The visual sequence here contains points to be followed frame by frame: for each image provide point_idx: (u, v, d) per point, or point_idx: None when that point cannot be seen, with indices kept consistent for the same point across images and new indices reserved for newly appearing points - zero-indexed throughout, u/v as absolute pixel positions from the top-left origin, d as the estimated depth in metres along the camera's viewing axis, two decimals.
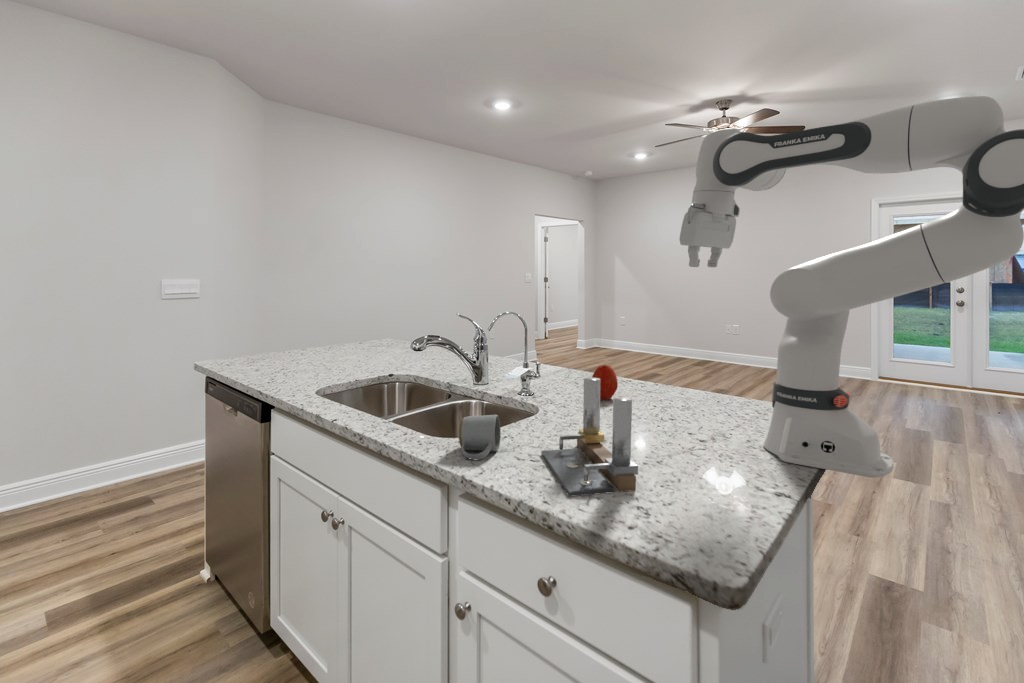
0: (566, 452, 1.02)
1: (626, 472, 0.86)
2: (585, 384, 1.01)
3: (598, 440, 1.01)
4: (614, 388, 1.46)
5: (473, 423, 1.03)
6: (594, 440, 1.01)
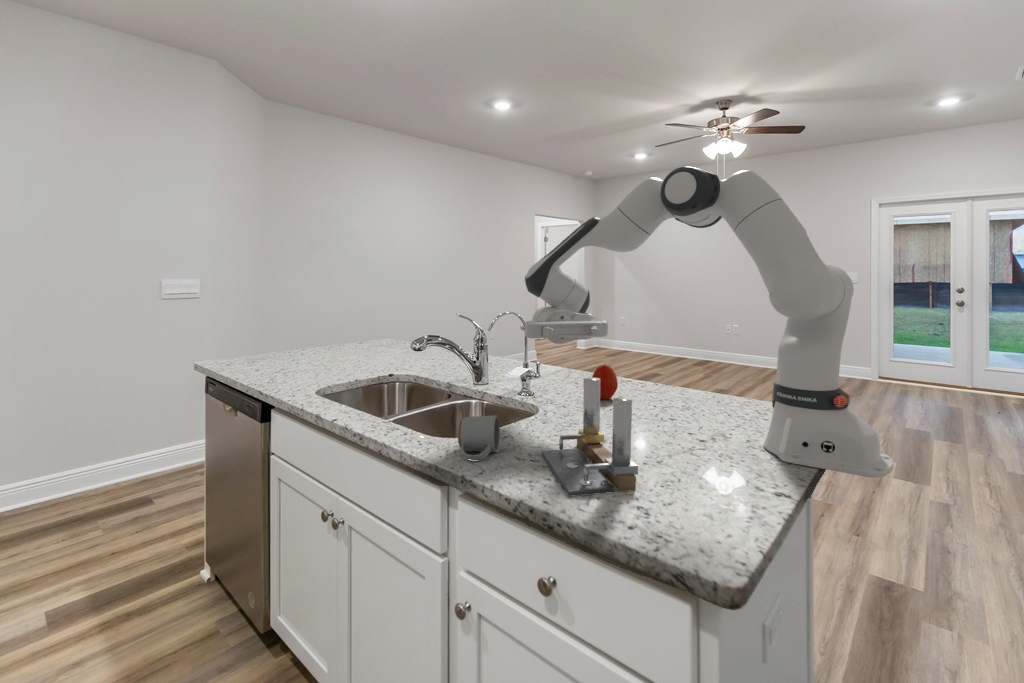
0: (566, 452, 1.02)
1: (626, 472, 0.86)
2: (585, 384, 1.01)
3: (598, 440, 1.01)
4: (614, 388, 1.46)
5: (472, 424, 1.03)
6: (594, 440, 1.01)
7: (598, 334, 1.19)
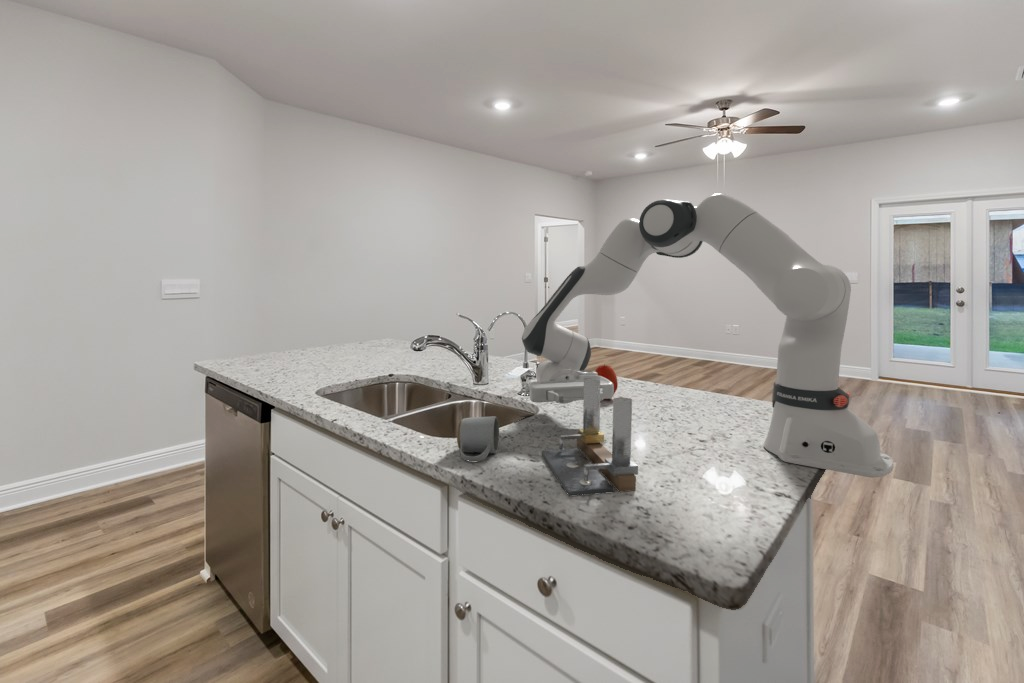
0: (566, 452, 1.02)
1: (626, 472, 0.86)
2: (585, 384, 1.01)
3: (598, 440, 1.01)
4: (614, 388, 1.46)
5: (471, 425, 1.02)
6: (594, 440, 1.01)
7: (604, 396, 1.16)
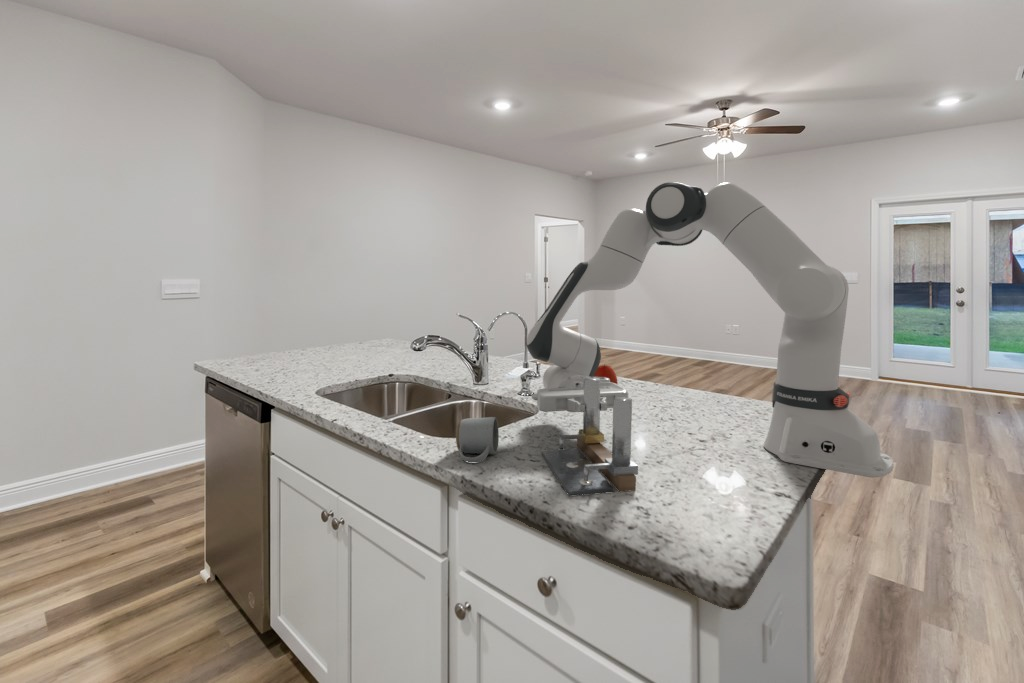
0: (566, 452, 1.02)
1: (626, 472, 0.86)
2: (585, 384, 1.01)
3: (598, 440, 1.01)
4: None
5: (470, 426, 1.02)
6: (594, 440, 1.01)
7: None
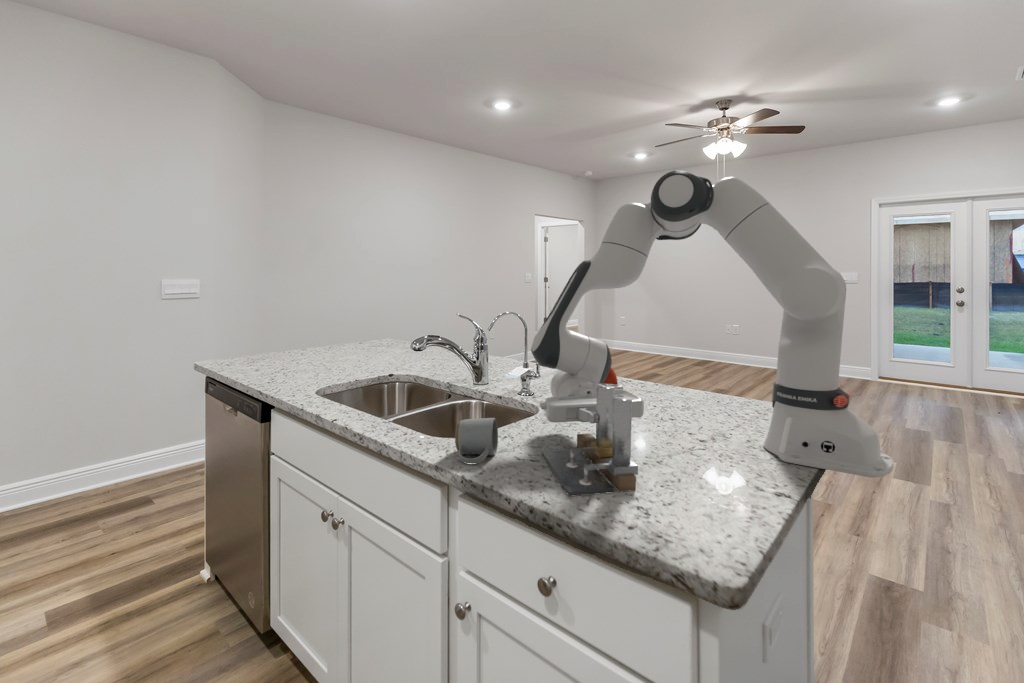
0: (566, 452, 1.02)
1: (626, 472, 0.86)
2: (598, 393, 0.93)
3: None
4: None
5: (469, 427, 1.01)
6: (608, 453, 0.94)
7: (633, 415, 1.00)
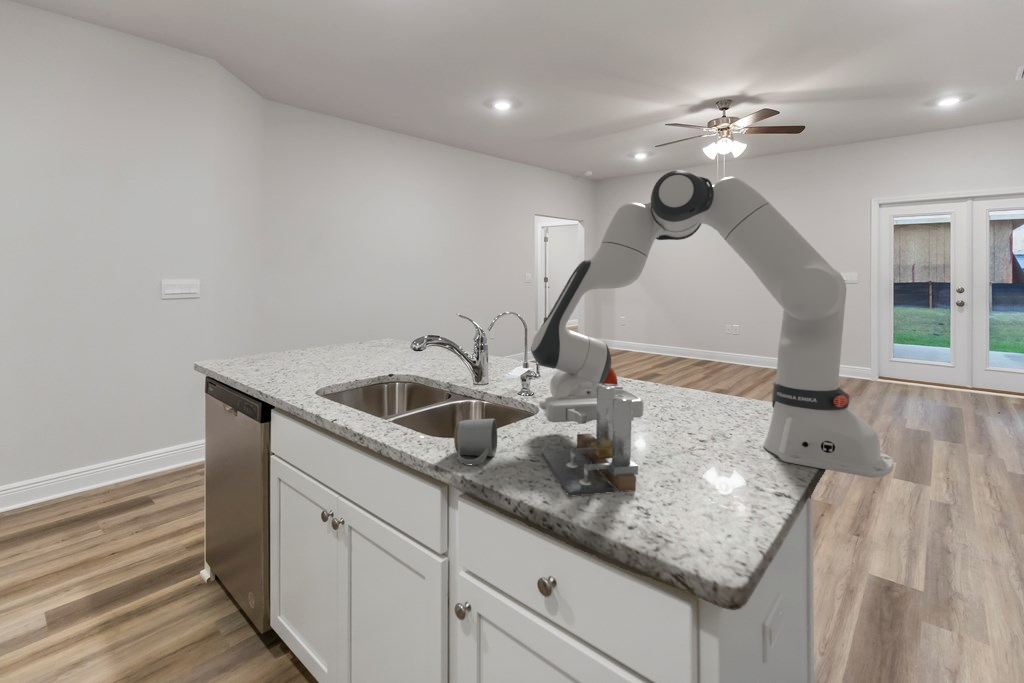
0: (566, 452, 1.02)
1: (626, 472, 0.86)
2: (599, 393, 0.93)
3: None
4: None
5: (469, 428, 1.01)
6: (608, 454, 0.93)
7: (632, 415, 1.00)
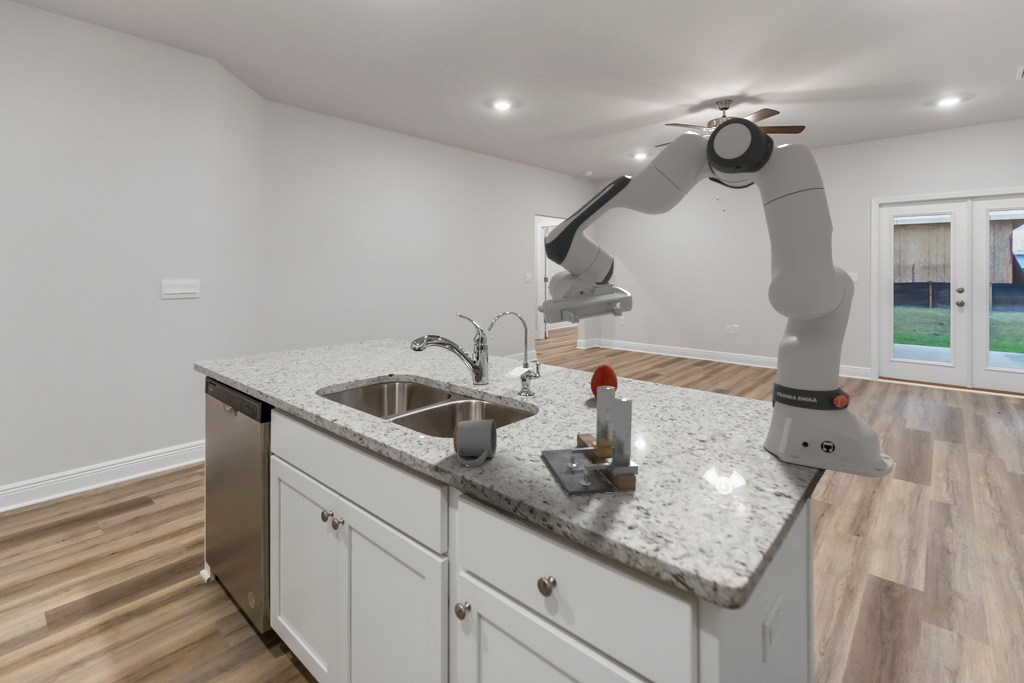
0: (566, 452, 1.02)
1: (626, 472, 0.86)
2: (599, 393, 0.93)
3: None
4: None
5: (468, 428, 1.00)
6: (608, 454, 0.93)
7: (622, 310, 1.10)
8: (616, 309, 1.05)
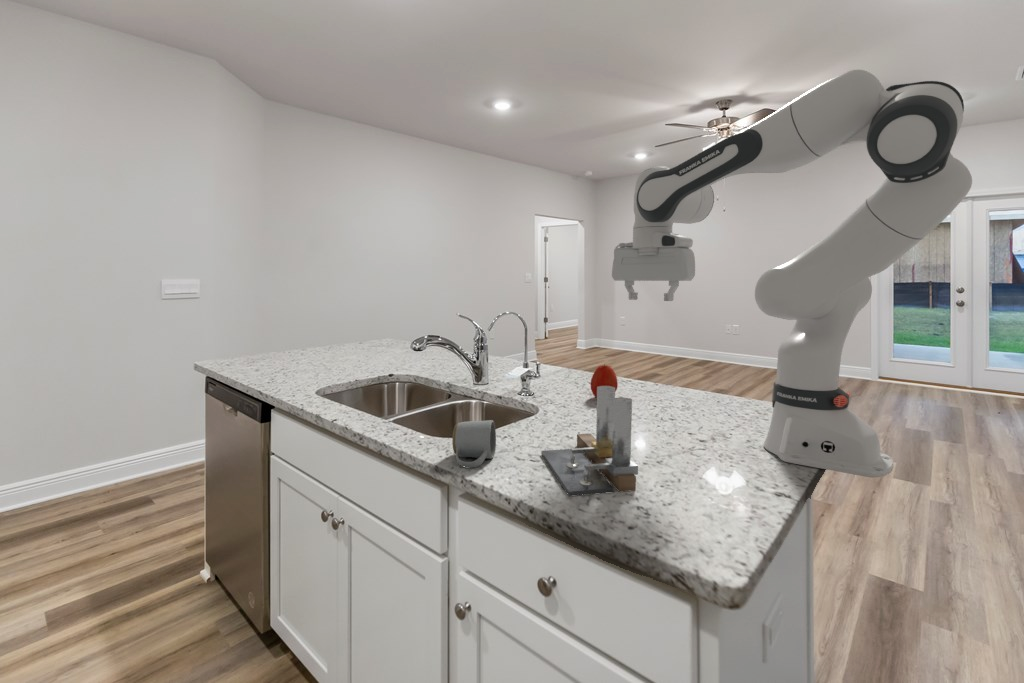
0: (566, 452, 1.02)
1: (626, 472, 0.86)
2: (599, 393, 0.93)
3: None
4: None
5: (467, 429, 0.99)
6: (608, 454, 0.93)
7: None
8: (665, 300, 1.14)
